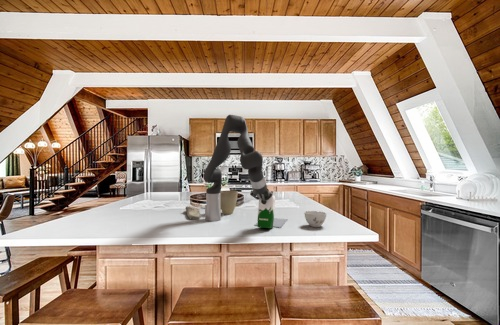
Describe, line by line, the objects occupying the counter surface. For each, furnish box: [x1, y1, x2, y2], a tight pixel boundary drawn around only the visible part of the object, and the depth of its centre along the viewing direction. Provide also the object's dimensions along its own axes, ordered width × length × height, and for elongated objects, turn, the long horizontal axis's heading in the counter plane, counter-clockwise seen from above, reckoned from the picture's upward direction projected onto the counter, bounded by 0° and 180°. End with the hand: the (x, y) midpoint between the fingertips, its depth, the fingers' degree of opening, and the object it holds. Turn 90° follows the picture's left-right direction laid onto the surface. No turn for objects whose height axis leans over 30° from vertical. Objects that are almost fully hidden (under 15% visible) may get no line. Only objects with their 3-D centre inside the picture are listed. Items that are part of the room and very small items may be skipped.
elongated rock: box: [185, 205, 202, 221], centre depth 186 cm, size 35×5×10 cm
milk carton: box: [256, 194, 276, 229], centre depth 149 cm, size 9×9×20 cm
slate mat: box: [254, 217, 288, 229], centre depth 163 cm, size 16×22×1 cm
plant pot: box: [221, 190, 239, 215], centre depth 192 cm, size 15×15×16 cm
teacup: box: [303, 210, 327, 228], centre depth 155 cm, size 15×12×8 cm
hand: (264, 203), depth 146 cm, fingers closed
